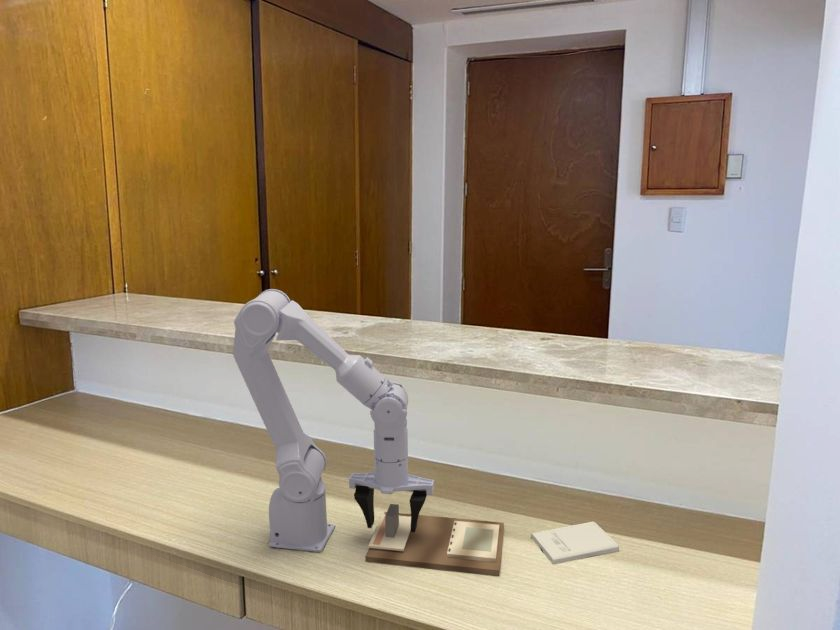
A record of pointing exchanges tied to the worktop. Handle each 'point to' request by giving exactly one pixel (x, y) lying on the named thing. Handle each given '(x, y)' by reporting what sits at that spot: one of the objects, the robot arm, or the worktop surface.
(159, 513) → the worktop surface
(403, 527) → the stub
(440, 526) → the ticket board
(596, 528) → the external hard drive
